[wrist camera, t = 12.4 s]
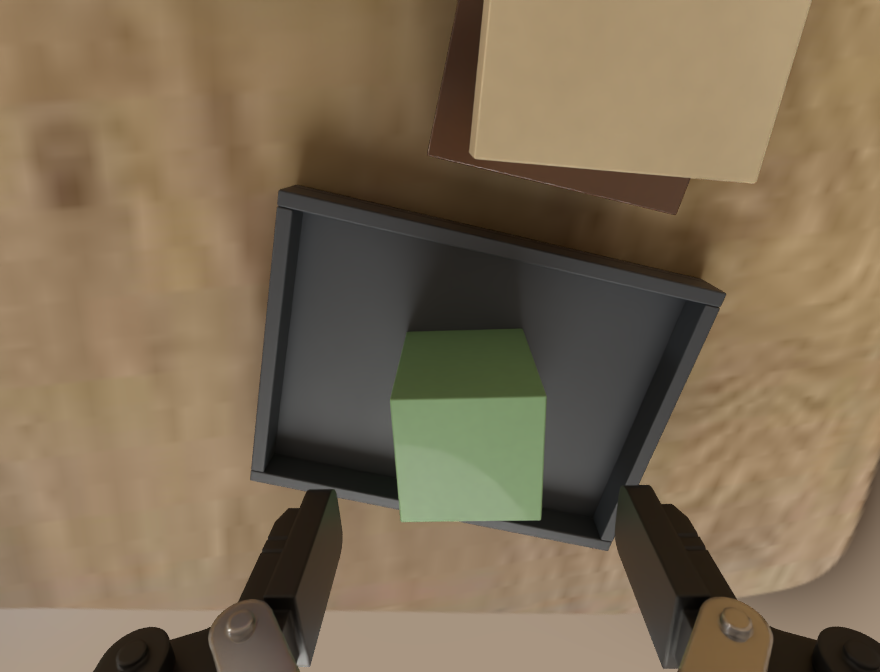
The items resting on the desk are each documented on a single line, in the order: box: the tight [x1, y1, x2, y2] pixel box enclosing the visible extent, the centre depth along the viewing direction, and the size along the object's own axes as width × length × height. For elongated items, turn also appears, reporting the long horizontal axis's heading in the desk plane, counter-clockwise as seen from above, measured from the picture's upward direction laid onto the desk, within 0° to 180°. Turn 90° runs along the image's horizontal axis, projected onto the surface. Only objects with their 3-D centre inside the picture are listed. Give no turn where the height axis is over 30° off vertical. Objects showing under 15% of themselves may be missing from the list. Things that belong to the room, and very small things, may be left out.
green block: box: [390, 329, 547, 522], centre depth 19 cm, size 5×5×6 cm
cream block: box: [469, 0, 812, 184], centre depth 12 cm, size 6×6×4 cm
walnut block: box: [427, 0, 690, 215], centre depth 16 cm, size 8×8×4 cm
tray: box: [250, 185, 726, 551], centre depth 22 cm, size 13×17×2 cm
